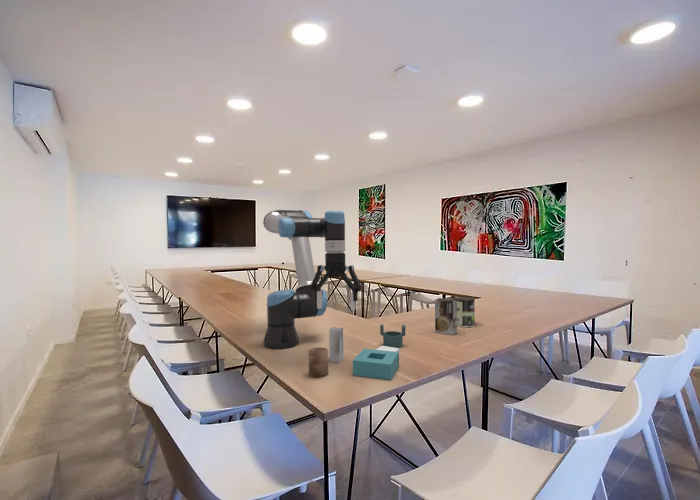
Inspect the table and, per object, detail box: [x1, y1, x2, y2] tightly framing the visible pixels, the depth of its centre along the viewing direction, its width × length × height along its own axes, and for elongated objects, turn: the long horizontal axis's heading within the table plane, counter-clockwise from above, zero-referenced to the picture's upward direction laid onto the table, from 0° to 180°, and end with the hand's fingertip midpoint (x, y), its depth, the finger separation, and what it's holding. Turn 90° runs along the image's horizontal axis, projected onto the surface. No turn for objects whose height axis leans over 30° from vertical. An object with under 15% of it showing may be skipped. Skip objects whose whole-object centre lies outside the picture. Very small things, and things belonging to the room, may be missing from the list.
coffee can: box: [453, 296, 476, 328], centre depth 181 cm, size 10×10×14 cm
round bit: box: [308, 347, 329, 379], centre depth 117 cm, size 6×6×8 cm
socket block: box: [352, 348, 400, 381], centre depth 119 cm, size 13×13×5 cm
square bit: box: [328, 326, 345, 364], centre depth 130 cm, size 4×4×12 cm
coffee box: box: [434, 297, 458, 336], centre depth 166 cm, size 9×6×16 cm
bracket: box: [379, 324, 406, 349], centre depth 148 cm, size 9×9×9 cm
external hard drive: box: [375, 345, 401, 353], centre depth 137 cm, size 2×8×12 cm
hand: (336, 309), depth 129 cm, fingers open, 13 cm apart
